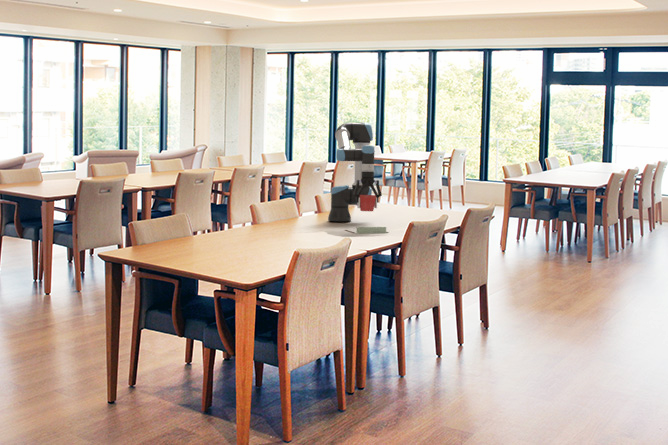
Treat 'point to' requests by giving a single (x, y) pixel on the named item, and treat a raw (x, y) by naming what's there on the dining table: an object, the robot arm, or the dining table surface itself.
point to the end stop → (370, 229)
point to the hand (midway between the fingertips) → (367, 208)
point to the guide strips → (354, 232)
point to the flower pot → (367, 202)
